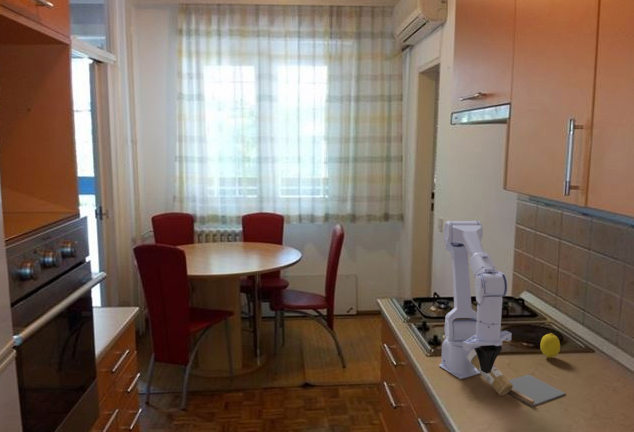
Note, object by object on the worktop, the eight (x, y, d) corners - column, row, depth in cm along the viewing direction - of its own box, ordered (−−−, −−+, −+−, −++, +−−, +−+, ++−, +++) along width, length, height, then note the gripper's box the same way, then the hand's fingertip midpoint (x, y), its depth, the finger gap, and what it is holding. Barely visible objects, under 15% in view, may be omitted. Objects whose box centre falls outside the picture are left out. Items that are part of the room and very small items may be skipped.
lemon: (542, 352, 162) (544, 328, 161) (561, 357, 159) (563, 332, 157) (537, 358, 158) (538, 333, 156) (556, 363, 154) (558, 338, 153)
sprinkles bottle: (512, 382, 133) (478, 344, 143) (498, 392, 133) (465, 354, 142) (514, 389, 136) (480, 351, 146) (500, 399, 136) (467, 361, 146)
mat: (495, 386, 141) (495, 381, 141) (528, 375, 147) (528, 370, 147) (531, 406, 131) (531, 401, 130) (565, 394, 137) (565, 389, 136)
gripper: (478, 331, 120) (475, 385, 123) (522, 320, 127) (518, 371, 129) (457, 321, 127) (455, 372, 129) (500, 311, 133) (497, 360, 136)
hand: (485, 371), depth 130 cm, fingers closed
